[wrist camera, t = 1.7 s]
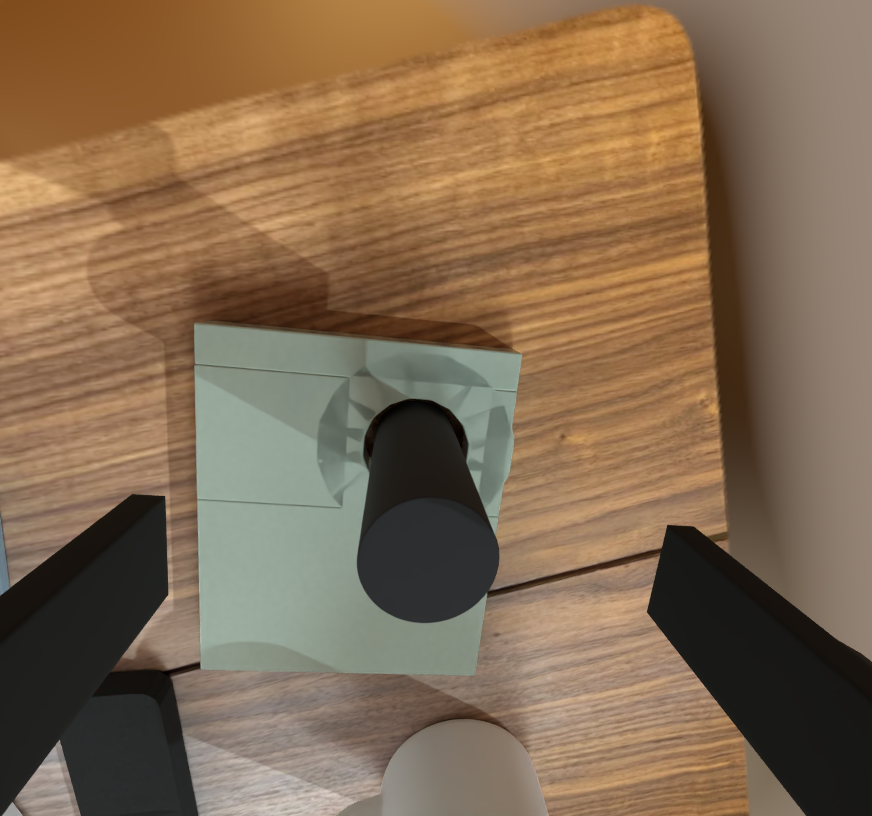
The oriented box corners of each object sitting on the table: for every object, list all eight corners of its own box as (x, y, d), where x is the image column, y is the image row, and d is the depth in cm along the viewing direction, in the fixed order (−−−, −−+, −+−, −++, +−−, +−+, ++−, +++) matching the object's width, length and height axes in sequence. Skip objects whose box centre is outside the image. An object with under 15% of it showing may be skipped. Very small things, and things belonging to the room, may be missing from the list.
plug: (378, 397, 21) (361, 492, 11) (458, 404, 21) (508, 501, 12) (372, 473, 22) (352, 621, 12) (449, 478, 22) (489, 626, 12)
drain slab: (208, 319, 20) (192, 322, 18) (518, 349, 21) (527, 354, 19) (212, 646, 23) (200, 670, 22) (474, 654, 25) (479, 676, 23)
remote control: (72, 667, 24) (123, 895, 27) (46, 696, 22) (103, 937, 25) (174, 659, 24) (212, 886, 27) (157, 687, 22) (199, 925, 25)
